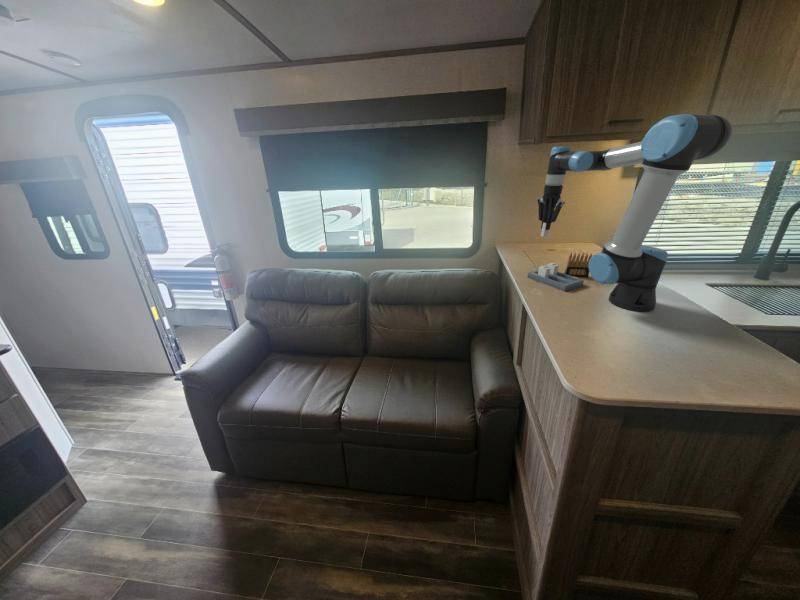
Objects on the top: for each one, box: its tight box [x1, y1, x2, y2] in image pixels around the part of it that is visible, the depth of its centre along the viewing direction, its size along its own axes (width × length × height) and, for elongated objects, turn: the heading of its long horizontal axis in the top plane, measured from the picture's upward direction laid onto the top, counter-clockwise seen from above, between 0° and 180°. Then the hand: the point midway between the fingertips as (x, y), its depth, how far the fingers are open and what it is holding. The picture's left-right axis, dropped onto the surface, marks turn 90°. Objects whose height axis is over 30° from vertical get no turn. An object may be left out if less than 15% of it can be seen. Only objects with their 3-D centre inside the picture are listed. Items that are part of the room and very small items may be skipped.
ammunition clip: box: [563, 252, 593, 278], centre depth 146 cm, size 11×2×12 cm, turn 79°
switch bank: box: [527, 269, 585, 292], centre depth 143 cm, size 20×13×3 cm, turn 28°
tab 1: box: [537, 265, 551, 278], centre depth 143 cm, size 4×3×6 cm
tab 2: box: [546, 262, 560, 275], centre depth 146 cm, size 4×3×6 cm
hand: (543, 236), depth 146 cm, fingers closed
